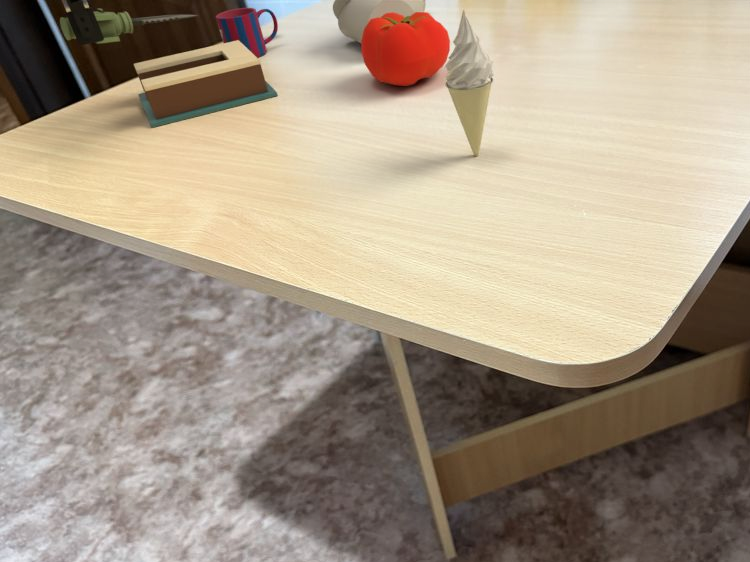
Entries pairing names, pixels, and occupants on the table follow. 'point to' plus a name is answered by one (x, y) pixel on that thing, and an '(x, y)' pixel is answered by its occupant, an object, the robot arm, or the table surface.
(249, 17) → the mug
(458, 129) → the table surface
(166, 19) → the knife
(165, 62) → the tissue dispenser
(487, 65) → the ice cream cone
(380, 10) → the bent grey cylinder
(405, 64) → the tomato
